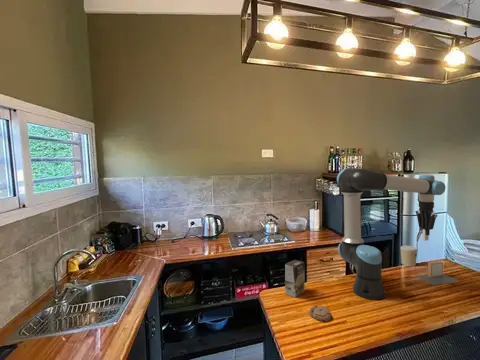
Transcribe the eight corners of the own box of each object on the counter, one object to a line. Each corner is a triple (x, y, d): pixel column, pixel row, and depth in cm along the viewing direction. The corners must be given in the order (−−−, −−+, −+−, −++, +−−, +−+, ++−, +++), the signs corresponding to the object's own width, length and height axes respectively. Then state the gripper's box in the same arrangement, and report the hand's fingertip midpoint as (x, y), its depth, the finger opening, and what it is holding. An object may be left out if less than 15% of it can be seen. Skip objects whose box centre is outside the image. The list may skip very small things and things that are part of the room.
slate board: (433, 287, 144) (433, 284, 144) (414, 277, 156) (414, 275, 156) (460, 283, 147) (460, 281, 147) (440, 274, 159) (440, 272, 159)
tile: (431, 277, 153) (431, 263, 153) (427, 275, 155) (428, 262, 155) (442, 275, 155) (443, 262, 154) (439, 274, 157) (439, 261, 156)
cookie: (319, 325, 114) (319, 318, 113) (304, 312, 123) (304, 306, 123) (337, 319, 118) (337, 312, 117) (321, 307, 127) (321, 301, 127)
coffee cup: (419, 268, 168) (420, 250, 167) (403, 268, 170) (403, 249, 169) (413, 263, 177) (413, 245, 176) (397, 262, 179) (398, 245, 178)
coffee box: (295, 298, 136) (294, 267, 135) (284, 293, 140) (284, 263, 139) (305, 291, 142) (304, 262, 141) (294, 287, 147) (294, 259, 146)
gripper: (441, 202, 153) (440, 242, 155) (422, 199, 166) (421, 236, 168) (430, 202, 152) (429, 243, 153) (411, 199, 165) (411, 237, 166)
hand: (425, 240), depth 160 cm, fingers closed
